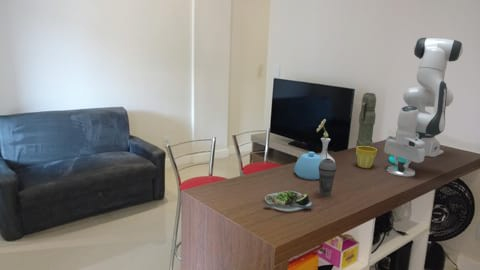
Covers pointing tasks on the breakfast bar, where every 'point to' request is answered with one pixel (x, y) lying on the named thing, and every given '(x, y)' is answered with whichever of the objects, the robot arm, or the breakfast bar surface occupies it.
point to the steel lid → (401, 170)
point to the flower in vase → (324, 143)
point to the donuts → (395, 161)
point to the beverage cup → (326, 176)
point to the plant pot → (365, 156)
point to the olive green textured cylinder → (366, 120)
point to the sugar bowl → (308, 166)
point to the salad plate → (288, 201)
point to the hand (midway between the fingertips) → (401, 166)
